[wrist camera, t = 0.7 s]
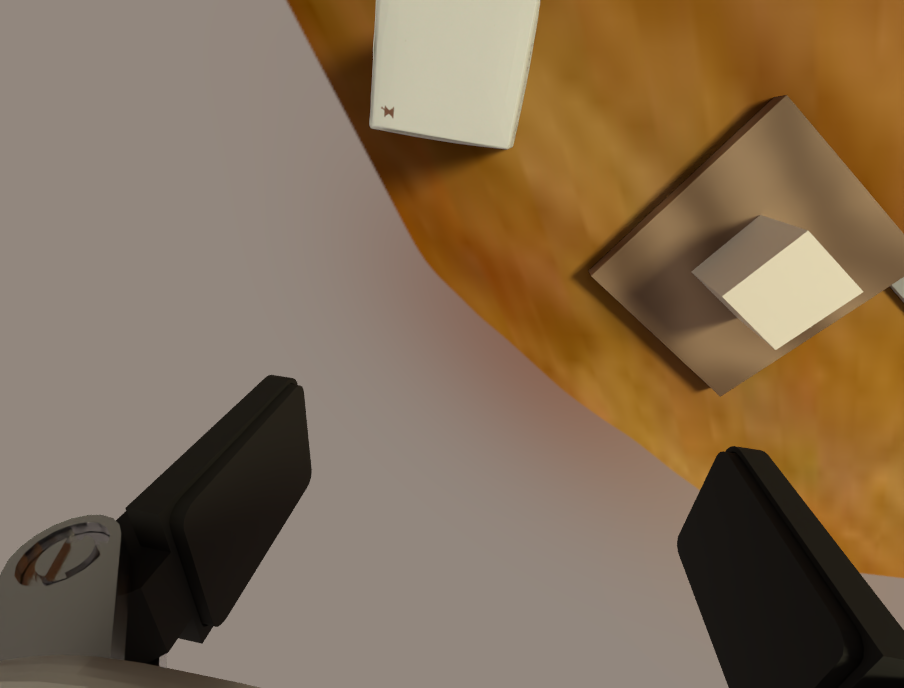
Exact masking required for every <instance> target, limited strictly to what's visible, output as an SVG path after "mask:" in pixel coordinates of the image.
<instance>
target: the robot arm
mask: <svg viewBox="0 0 904 688" xmlns="http://www.w3.org/2000/svg"><path fill="white" fill-rule="evenodd" d="M310 479H311V460H310V450H309V441H308V430H307V420H306V409H305V399H304V391H303V388H302V386H298V385H297V382H296V380H295V379H293V378H287V377H281V376H274V375H269V376H267V377H266V378H265V379H264V380H262V381H261V382H260V383H259V384H258V385H257V386H256V387H255V388H254V389H253V390H252V391H251V392H250V393H248V394H247V395H246V396H245V397H244V398H243V399H242V400H241V401H240V402H239V403H238V404H237V405H236V406H234V407H233V408H232V409H231V410H230V411H229V412H228V413H227V414H226V415H225V416H224V417H223V418H222V419H221V420H219V421H218V422H217V423H216V424H215V425H214V426H213V427H212V428H211V429H210V430H209V431H208V432H207V433H206V434H204V435H203V436H202V437H201V438H200V439H199V440H198V441H197V442H196V443H195V444H194V445H193V446H192V447H190V448H189V449H188V450H187V451H186V452H185V453H184V454H183V455H182V456H181V457H180V458H179V459H178V460H177V461H175V462H174V463H173V464H172V465H171V466H170V467H169V468H168V469H167V470H166V471H165V472H164V473H163V474H162V475H160V477H158V478H157V479H156V480H155V481H154V482H153V483H152V484H151V485H150V486H149V487H148V488H146V490H144V491H143V492H142V493H141V494H140V495H139V496H138V497H137V498H136V499H135V500H134V501H133V502H131V503H130V504H129V505H128V506H127V507H126V512H125V513H124V514H123V515H121V516H120V517H119V518H118V519H117V520H116V521H115V520H114V519H113V518H111V517H107V516H104V515H87V516H82V517H77V518H72V519H69V520H67V521H64V522H61V523H59V524H56V525H54V526H52V527H50V528H48V529H46V530H44V531H43V532H41V533H39V534H38V535H36V536H34V537H33V538H32V539H30V540H29V541H28V542H26V543H25V544H24V545H22V546H21V547H20V548H19V549H18V550H17V551H16V552H15V553H14V554H13V555H12V556H11V557H10V559H9V560H8V561H7V563H6V565H5V567H4V569H3V570H2V572H1V575H0V688H259V687H254V686H250V685H246V684H242V683H237V682H233V681H227V680H223V679H218V678H213V677H208V676H203V675H199V674H194V673H188V672H184V671H179V670H174V669H169V668H167V653H168V652H169V650H170V649H171V648H172V646H173V645H174V643H175V642H176V640H177V639H178V638H180V639H184V640H189V641H194V642H198V643H203V642H204V640H205V639H206V637H207V635H208V634H209V632H210V631H211V629H212V627H213V626H215V627H218V626H219V625H221V624H222V623H223V622H224V620H225V619H226V618H227V616H228V615H229V613H230V611H231V610H232V608H233V607H234V605H235V603H236V602H237V600H238V598H239V597H240V595H241V593H242V592H243V590H244V589H245V587H246V585H247V584H248V582H249V581H250V579H251V577H252V576H253V574H254V573H255V571H256V569H257V567H258V566H259V564H260V562H261V561H262V560H263V558H264V556H265V555H266V553H267V551H268V550H269V548H270V547H271V545H272V543H273V542H274V540H275V538H276V537H277V535H278V534H279V532H280V530H281V529H282V527H283V525H284V524H285V522H286V521H287V519H288V517H289V516H290V514H291V513H292V511H293V509H294V508H295V506H296V504H297V503H298V501H299V500H300V498H301V496H302V495H303V493H304V492H305V490H306V488H307V486H308V485H309V482H310ZM677 547H678V553H679V556H680V559H681V561H682V564H683V567H684V569H685V572H686V574H687V577H688V580H689V583H690V585H691V588H692V590H693V593H694V596H695V599H696V601H697V604H698V606H699V609H700V612H701V615H702V617H703V620H704V623H705V625H706V628H707V631H708V633H709V636H710V639H711V641H712V644H713V647H714V649H715V652H716V655H717V657H718V660H719V663H720V665H721V668H722V671H723V673H724V676H725V679H726V681H727V684H728V687H729V688H904V630H903V629H902V627H901V626H900V625H899V624H898V622H897V621H896V620H895V618H894V617H893V616H892V615H891V613H890V612H889V611H888V609H887V608H886V607H885V605H884V604H883V603H882V602H881V600H880V599H879V598H878V597H877V595H876V594H875V593H874V592H873V590H872V589H871V587H870V586H869V585H868V584H867V582H866V581H865V580H864V579H863V577H862V576H861V574H860V573H859V572H858V571H857V569H856V568H855V567H854V565H853V564H852V563H851V562H850V560H849V559H848V558H847V556H846V555H845V554H844V552H843V551H842V550H841V549H840V547H839V546H838V545H837V543H836V542H835V541H834V540H833V538H832V537H831V536H830V534H829V533H828V532H827V531H826V529H825V528H824V527H823V525H822V524H821V523H820V521H819V520H818V519H817V518H816V516H815V515H814V514H813V512H812V511H811V510H810V509H809V507H808V506H807V505H806V503H805V502H804V501H803V499H802V498H801V497H800V496H799V494H798V493H797V492H796V490H795V489H794V488H793V487H792V485H791V484H790V483H789V481H788V480H787V479H786V478H785V476H784V475H783V474H782V472H781V471H780V470H779V468H778V467H777V466H776V465H775V463H774V462H773V461H772V459H771V458H770V457H769V456H768V455H767V454H766V453H765V452H764V451H761V450H755V449H748V448H742V447H735V446H733V447H730V448H728V449H727V450H726V452H720V453H719V454H718V455H717V456H716V458H715V461H714V463H713V465H712V467H711V469H710V471H709V473H708V475H707V477H706V479H705V481H704V484H703V486H702V488H701V490H700V492H699V494H698V496H697V498H696V500H695V502H694V504H693V507H692V509H691V511H690V513H689V515H688V517H687V519H686V521H685V523H684V525H683V527H682V530H681V532H680V534H679V536H678V541H677Z"/></svg>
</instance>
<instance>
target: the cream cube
mask: <svg viewBox="0 0 904 688" xmlns="http://www.w3.org/2000/svg"><path fill="white" fill-rule="evenodd" d="M691 272H692V273H693V274H694V275H695V276H696V277H697V278H698V279H699V280H700V281H701V282H702V283H703V284H704V285H705V286H706V287H707V288H708V289H709V290H710V291H711V292H712V293H713V294H714V295H715V296H716V297H717V298H718V299H719V300H720V301H721V302H722V303H723V304H724V305H725V306H726V307H727V308H728V309H729V310H730V311H731V312H732V313H733V314H734V315H735V316H736V317H737V318H738V319H739V320H740V321H742V322H743V323H744V324H745V325H746V326H747V327H749V328H750V329H751V330H752V331H753V332H755V333H756V334H757V335H758V336H759V337H761V338H762V339H763V340H764V341H765V342H766V343H768V344H769V345H770V346H771V347H772V348H774V349H775V350H777V349H778V348H780V347H781V346H783V345H784V344H786V343H787V342H789V341H790V340H792V339H793V338H795V337H796V336H798V335H799V334H801V333H802V332H804V331H805V330H807V329H808V328H810V327H811V326H813V325H814V324H816V323H817V322H819V321H820V320H822V319H823V318H825V317H826V316H828V315H829V314H831V313H832V312H834V311H835V310H837V309H839V308H840V307H842V306H843V305H845V304H846V303H848V302H849V301H851V300H852V299H854V298H855V297H857V296H858V295H860V294H861V293H863V291H862V290H861V288H860V287H859V286H858V285H857V284H856V283H855V282H854V281H853V280H852V278H851V277H850V276H849V275H848V274H847V273H846V272H845V271H844V270H843V268H842V267H841V266H840V265H839V264H838V263H837V262H836V261H835V260H834V259H833V257H832V256H831V255H830V254H829V253H828V252H827V251H826V250H825V249H824V247H823V246H822V245H821V244H820V243H819V242H818V241H817V240H816V239H815V237H814V236H813V235H812V234H811V233H810V232H809V231H808V230H805V229H802V228H799V227H796V226H793V225H790V224H787V223H784V222H781V221H778V220H775V219H771V218H768V217H765V216H762V215H760V216H758V217H757V218H756V219H755V220H754V221H752V222H751V223H750V224H749V225H747V226H746V227H745V228H744V229H743V230H741V231H740V232H739V233H738V234H736V235H735V236H734V237H733V238H732V239H730V240H729V241H728V242H727V243H726V244H724V245H723V246H722V247H721V248H719V249H718V250H717V251H716V252H715V253H713V254H712V255H711V256H710V257H708V258H707V259H706V260H705V261H704V262H702V263H701V264H700V265H699V266H697V267H696V268H695V269H694V270H693V271H691Z"/></svg>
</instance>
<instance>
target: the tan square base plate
mask: <svg viewBox="0 0 904 688" xmlns="http://www.w3.org/2000/svg"><path fill="white" fill-rule="evenodd" d="M760 215H762V216H765V217H768V218H771V219H775V220H778V221H781V222H784V223H787V224H790V225H793V226H796V227H799V228H802V229H805V230H808V231H809V232H810V233H811V234H812V235H813V236H814V237H815V239H816V240H817V241H818V242H819V243H820V244H821V245H822V246H823V247H824V249H825V250H826V251H827V252H828V253H829V254H830V255H831V256H832V257H833V259H834V260H835V261H836V262H837V263H838V264H839V265H840V266H841V267H842V268H843V270H844V271H845V272H846V273H847V274H848V275H849V276H850V277H851V278H852V280H853V281H854V282H855V283H856V284H857V285H858V286H859V287H860V288H861V290H862V291H863V293H861V294H860V295H858V296H857V297H855V298H854V299H852V300H851V301H849V302H848V303H846V304H845V305H843V306H842V307H840V308H839V309H837V310H835V311H834V312H832V313H831V314H829V315H828V316H826V317H825V318H823V319H822V320H820V321H819V322H817V323H816V324H814V325H813V326H811V327H810V328H808V329H807V330H805V331H804V332H802V333H801V334H799V335H798V336H796V337H795V338H793V339H792V340H790V341H789V342H787V343H786V344H784V345H783V346H781V347H780V348H778V349H777V350H775V349H774V348H772V347H771V346H770V345H769V344H768V343H766V342H765V341H764V340H763V339H762V338H761V337H759V336H758V335H757V334H756V333H755V332H753V331H752V330H751V329H750V328H749V327H747V326H746V325H745V324H744V323H743V322H742V321H740V320H739V319H738V318H737V317H736V316H735V315H734V314H733V313H732V312H731V311H730V310H729V309H728V308H727V307H726V306H725V305H724V304H723V303H722V302H721V301H720V300H719V299H718V298H717V297H716V296H715V295H714V294H713V293H712V292H711V291H710V290H709V289H708V288H707V287H706V286H705V285H704V284H703V283H702V282H701V281H700V280H699V279H698V278H697V277H696V276H695V275H694V274H693V273H692V272H691V271H693V270H694V269H695V268H696V267H697V266H699V265H700V264H701V263H702V262H704V261H705V260H706V259H707V258H708V257H710V256H711V255H712V254H713V253H715V252H716V251H717V250H718V249H719V248H721V247H722V246H723V245H724V244H726V243H727V242H728V241H729V240H730V239H732V238H733V237H734V236H735V235H736V234H738V233H739V232H740V231H741V230H743V229H744V228H745V227H746V226H747V225H749V224H750V223H751V222H752V221H754V220H755V219H756V218H757V217H758V216H760ZM589 273H590V275H591V276H592V277H593V278H594V279H595V280H596V281H597V282H598V283H599V284H600V285H601V286H602V287H603V288H604V289H605V290H607V291H608V292H609V293H610V294H611V295H612V296H613V297H614V298H615V299H616V300H617V301H618V302H619V303H620V304H622V305H623V306H624V307H625V308H626V309H627V310H628V311H629V312H630V313H631V314H632V315H633V316H634V317H635V318H637V319H638V320H639V321H640V322H641V323H642V324H643V325H644V326H645V327H646V328H647V329H648V330H649V331H650V332H652V333H653V334H654V335H655V336H656V337H657V338H658V339H659V340H660V341H661V342H662V343H663V344H664V345H665V346H667V347H668V348H669V349H670V350H671V351H672V352H673V353H674V354H675V355H676V356H677V357H678V358H679V359H680V360H682V361H683V362H684V363H685V364H686V365H687V366H688V367H689V368H690V369H691V370H692V371H693V372H694V373H695V374H697V375H698V376H699V377H700V378H701V379H702V380H703V381H704V382H705V383H706V384H707V385H708V386H709V387H710V388H712V389H713V390H714V391H715V392H716V393H717V394H718V395H719V396H720V397H721V396H722V395H724V394H725V393H727V392H728V391H730V390H731V389H733V388H734V387H736V386H737V385H739V384H740V383H742V382H744V381H745V380H747V379H748V378H750V377H751V376H753V375H754V374H756V373H757V372H759V371H760V370H762V369H763V368H765V367H767V366H768V365H770V364H771V363H773V362H774V361H776V360H777V359H779V358H780V357H782V356H783V355H785V354H786V353H788V352H790V351H791V350H793V349H794V348H796V347H797V346H799V345H800V344H802V343H803V342H805V341H806V340H808V339H809V338H811V337H812V336H814V335H816V334H817V333H819V332H820V331H822V330H823V329H825V328H826V327H828V326H829V325H831V324H832V323H834V322H835V321H837V320H839V319H840V318H842V317H843V316H845V315H846V314H848V313H849V312H851V311H852V310H854V309H855V308H857V307H858V306H860V305H862V304H863V303H865V302H866V301H868V300H869V299H871V298H872V297H874V296H875V295H877V294H878V293H880V292H881V291H883V290H885V289H886V288H888V287H889V286H891V285H892V284H894V283H895V282H897V281H898V280H900V279H901V278H903V277H904V234H903V233H902V231H901V230H900V229H899V228H898V227H897V225H896V224H895V223H894V222H893V221H892V220H891V218H890V217H889V216H888V215H887V214H886V212H885V211H884V210H883V209H882V208H881V206H880V205H879V204H878V203H877V202H876V200H875V199H874V198H873V197H872V196H871V195H870V193H869V192H868V191H867V190H866V189H865V187H864V186H863V185H862V184H861V183H860V181H859V180H858V179H857V178H856V177H855V176H854V174H853V173H852V172H851V171H850V170H849V168H848V167H847V166H846V165H845V164H844V162H843V161H842V160H841V159H840V158H839V157H838V155H837V154H836V153H835V152H834V151H833V149H832V148H831V147H830V146H829V145H828V143H827V142H826V141H825V140H824V139H823V138H822V136H821V135H820V134H819V133H818V132H817V130H816V129H815V128H814V127H813V126H812V124H811V123H810V122H809V121H808V120H807V119H806V117H805V116H804V115H803V114H802V113H801V111H800V110H799V109H798V108H797V107H796V105H795V104H794V103H793V102H792V101H791V99H790V98H789V97H788V96H787V95H784V96H778V97H774V98H773V99H772V100H770V101H769V102H768V103H767V104H766V105H765V106H764V107H763V108H762V109H761V110H760V111H759V112H758V113H757V114H756V115H754V116H753V117H752V118H751V119H750V120H749V121H748V122H747V123H746V124H745V125H744V126H743V127H742V128H741V129H739V130H738V131H737V132H736V133H735V134H734V135H733V136H732V137H731V138H730V139H729V140H728V141H727V142H726V143H724V144H723V145H722V146H721V147H720V148H719V149H718V150H717V151H716V152H715V153H714V154H713V155H712V156H711V157H710V158H708V159H707V160H706V161H705V162H704V163H703V164H702V165H701V166H700V167H699V168H698V169H697V170H696V171H695V172H693V173H692V174H691V175H690V176H689V177H688V178H687V179H686V180H685V181H684V182H683V183H682V184H681V185H680V186H678V187H677V188H676V189H675V190H674V191H673V192H672V193H671V194H670V195H669V196H668V197H667V198H666V199H665V200H664V201H662V202H661V203H660V204H659V205H658V206H657V207H656V208H655V209H654V210H653V211H652V212H651V213H650V214H649V215H647V216H646V217H645V218H644V219H643V220H642V221H641V222H640V223H639V224H638V225H637V226H636V227H635V228H634V229H632V230H631V231H630V232H629V233H628V234H627V235H626V236H625V237H624V238H623V239H622V240H621V241H620V242H619V243H618V244H616V245H615V246H614V247H613V248H612V249H611V250H610V251H609V252H608V253H607V254H606V255H605V256H604V257H603V258H601V259H600V260H599V261H598V262H597V263H596V264H595V265H594V266H593V267H592V268H591V269H590V270H589Z"/></svg>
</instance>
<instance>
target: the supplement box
mask: <svg viewBox="0 0 904 688" xmlns="http://www.w3.org/2000/svg"><path fill="white" fill-rule="evenodd" d="M539 7H540V0H376V13H375V31H374V41H373V69H372V90H371V108H370V120H369V125H370V128H372V129H377V130H382V131H387V132H393V133H398V134H403V135H409V136H414V137H420V138H426V139H432V140H438V141H444V142H451V143H457V144H465V145H473V146H481V147H489V148H498V149H509V148H512V147H513V145H514V140H515V135H516V131H517V126H518V121H519V117H520V112H521V107H522V103H523V98H524V93H525V88H526V83H527V78H528V73H529V68H530V62H531V56H532V50H533V45H534V39H535V33H536V27H537V20H538V14H539Z"/></svg>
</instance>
